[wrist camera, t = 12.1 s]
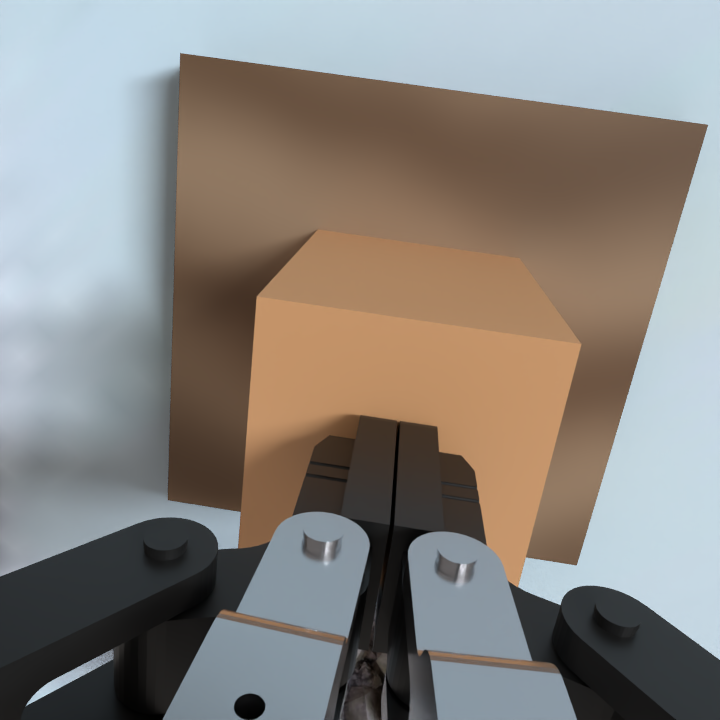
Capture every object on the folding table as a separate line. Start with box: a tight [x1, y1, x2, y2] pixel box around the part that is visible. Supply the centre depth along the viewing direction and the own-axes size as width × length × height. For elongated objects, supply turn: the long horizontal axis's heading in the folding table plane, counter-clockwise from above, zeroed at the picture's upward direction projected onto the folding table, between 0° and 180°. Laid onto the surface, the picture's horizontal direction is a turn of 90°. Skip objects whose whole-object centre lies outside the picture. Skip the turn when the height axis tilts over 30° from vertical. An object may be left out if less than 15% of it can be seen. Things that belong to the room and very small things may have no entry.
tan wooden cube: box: [238, 230, 581, 587], centre depth 16 cm, size 6×6×8 cm
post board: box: [168, 53, 708, 565], centre depth 18 cm, size 14×14×8 cm
